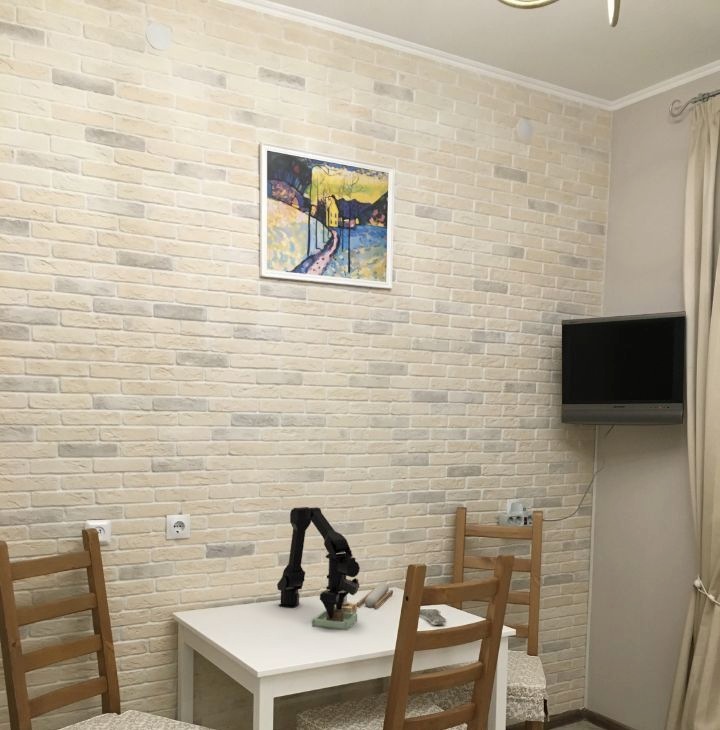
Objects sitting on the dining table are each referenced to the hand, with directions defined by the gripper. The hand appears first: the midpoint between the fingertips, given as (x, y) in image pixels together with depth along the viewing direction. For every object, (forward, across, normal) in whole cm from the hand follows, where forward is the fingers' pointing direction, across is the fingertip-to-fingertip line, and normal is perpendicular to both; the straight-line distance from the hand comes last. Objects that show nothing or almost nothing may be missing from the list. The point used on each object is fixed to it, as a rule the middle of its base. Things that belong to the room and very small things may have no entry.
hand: (335, 615), depth 286 cm
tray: (+3, 0, 0) cm, 3 cm away
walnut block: (+2, 0, 0) cm, 2 cm away
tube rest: (+3, +38, -5) cm, 38 cm away
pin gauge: (+3, +13, +1) cm, 14 cm away
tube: (+4, +38, -5) cm, 39 cm away
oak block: (+3, +14, +1) cm, 14 cm away
